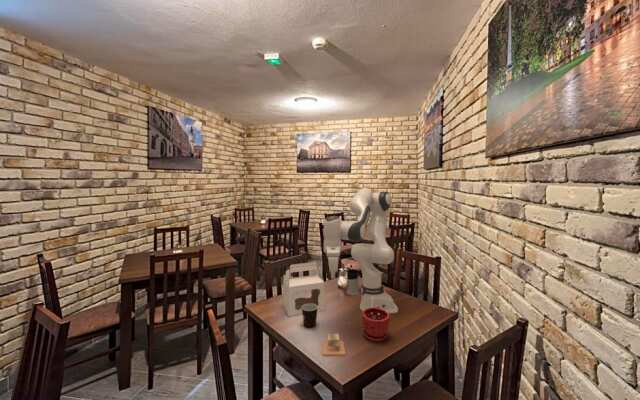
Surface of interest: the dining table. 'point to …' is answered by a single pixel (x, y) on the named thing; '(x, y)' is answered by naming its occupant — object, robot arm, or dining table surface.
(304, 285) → the gable box
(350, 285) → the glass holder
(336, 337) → the beech cube
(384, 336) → the plant pot
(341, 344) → the plate
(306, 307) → the coffee mug
